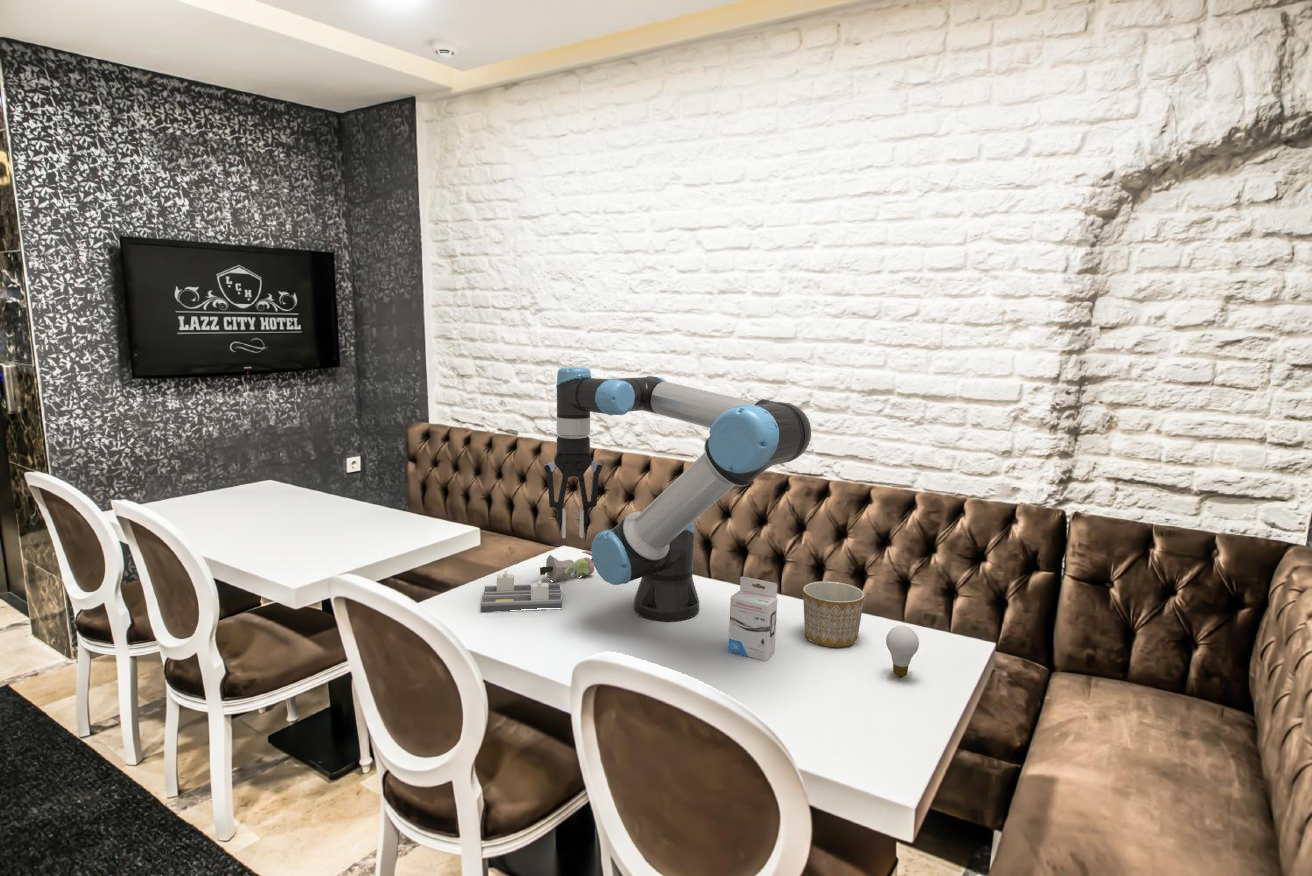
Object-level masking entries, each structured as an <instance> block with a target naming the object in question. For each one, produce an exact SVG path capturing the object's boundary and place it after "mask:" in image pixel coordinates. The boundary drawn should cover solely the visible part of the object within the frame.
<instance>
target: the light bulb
mask: <svg viewBox="0 0 1312 876" xmlns="http://www.w3.org/2000/svg"><path fill="white" fill-rule="evenodd" d="M885 643H886V644H885V645H886V647H887V649H888V651H889V654H890V657H891V660H892V674H894V675H895V676H896V677H897V678H900V679H902V678H905V676H907V675H908V672H909V665H910V663H911V660H912V658H913V657H914V655H915V654H916V653H917V652H918V650H919V647H920V640H919V637H918V635H917V633H916V632H915V630H914V629H912V628H911V627H909V626H906V625H897V626H894V627H893V628H891V629H890V630H889V631H888V633H887V635H886V637H885Z"/></svg>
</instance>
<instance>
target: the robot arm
mask: <svg viewBox="0 0 1312 876" xmlns="http://www.w3.org/2000/svg"><path fill="white" fill-rule="evenodd" d="M556 375H557V376H556V385H555V387H556V434H557V437H556V454H555V455H556V456H555V457H554V460H553V461H551V462H549V463H546V462H545V464H543V470H544V471H545V473H546V474H545V475H546V477H547V478H546V479H547V490H548V502H549V503H548V505H549V507H550V508H553V509H556V519H557V520H556V521H557V523H558V524H561V538H562V539H566V538H567V534H566V533H567V531H566V530H567V529H566V528H567V525H566V524H567V509H566V507H564V503H565V502H564V501H565V498H566V492H567V487H568V481H569V478H571V477H576V478H578V485H579V490H580V497H581V503H582V507H579V532H578V533H579V534H578V535H579V538H580V539H583V538H584V534H585V533H584V528H585V527H584V524H585V523H586V524H587V523H589V517H590V516H589V514H590V513H589V510H590V509H591V508H594V507H596V506H597V504H598V503H597V502H598V492H599V482H600V474H601V471H602V470H603V465H602V463H600V462H595V461H593V460H592V457H591V438H590V437H589V435H590V434H591V413H596V414H604V415H608V416H624V415H626V414H627V413H630V412H637V411H641V412H643V411H644V412H649V413H652V414H656V415H659V416H660V415H661V416H664V417H668V418H671V419H675V420H679V421H682V422H685V423H690V424H693V425H697V426H699V427H704V428H708V429H709V432H708V433H709V434H710V435H709V437H707V439H705V441H704V452H703V453H702V454H701V455H700V456H699V457H698V458H697V459H696V460H695V461H694V462H693V463H692V464H691V465H690V466H688V468H686V470H685V471H684V472H682V473H681V474H680V475H679V476H678V477H677V478H676V479H675V480H674V481H673V482H671V483H670V484H669V486H668V487H666V488H665V489H664V490H663V491H662V492H661V493H660V494H659V495H658V496H657V497H656V498H655V499H654V500H653V501H652V502H650V503H649V505H647V507H645V509H643V510H642V511H637V510H636V511H633V512H630V513H628V514H627V515H626V516H625V517H624V518H623V519H622V520H621V521H620V522H619V523H617V525H616V526H614V527H613V528H611V529H605V530H602V531H601V532H598V533H597V534H596V535H595V536H594V537H593V540H592V543H591V547H590V548H591V549H590V550H591V551H590V552H592V556H591V559H592V560H593V564H594V569H595V570H596V572H597V574H598V576H599V577H600V578H601V579H602V580H603V581H605V583H608V584H610V585H613V586H617V585H624V584H629V582H632V581H635V580H637V579H640V578H641V579H640V582H639V584H638V588H637V591H636V593H635V596H634V599H633V610H634V612H635V613H636V614H637V615H639V616H641V617H643V618H645V619H649V620H654V621H660V622H677V621H683V620H688V619H691V618H693V617H695V616H696V615H698V614H699V611H700V599H699V596H698V593H697V589H696V586H695V581H694V579H693V572H694V571H693V567H694V542H695V540H694V539H695V533H696V532H695V521H696V520H697V519H699V518H700V517H701V516H702V515H703V514H704V513H706V511H708V510H709V509H710V508H711V507H713V506H714V504H716V503H717V502H718V501H719V500H720V499H721V498H722V497H724V496H725V495H726V494H727V493H728V492H730V490H732V489H733V488H734V487H735V486H736V487H741V488H742V487H746V486H748V485H750V484H751V483H752V482H753V481H755V480H756V479H757V478H758V477H760V476H761V475H762V474H763V473H764V472H765V471H766V470H768V469H769V468H771V467H773V466H777V465H781V464H785V463H790V462H792V461H795V460H797V459H798V458H799V457H801V456H802V455H803V454H804V453H805V451H807V448H808V447H809V445H810V442H811V440H812V439H811V438H812V427H811V422H810V420H809V417H807V415H806V413H805V412H804V411H803V410H802V409H801V408H799V407H798V406H797V405H796V404H795V405H794V404H792V403H789V402H784V401H783V402H782V401H773V400H769V399H764V398H761V399H758V400H756V401H751V400H747V399H742V398H739V397H733V396H730V395H725V394H721V393H717V392H712V391H708V390H705V389H698V388H694V387H690V386H687V385H686V386H685V385H682V384H677V383H673V382H669V381H667V380H665V378H663V377H659V376H652V375H651V376H649V375H648V376H644V377H642V376H640V377H623V378H621V377H620V378H619V377H618V378H598V377H596V378H595V377H592V375H591V370H590V368H587V367H583V366H582V367H577V366H576V367H573V366H572V367H570V366H568V367H567V366H565V367H560V368H559V369H558V371H557V374H556ZM555 467H557V469H558V470H559V471H560V473H561V474H562V475H561V481H560V488H559V492H558V497H557V501H555V489H554V488H555V487H554V475H553V473H554V472H555ZM589 467H591V472H592V482H591V493H590V500H588V493H587V489H586V482H585V476H584V475H585V474H586V471H587V470H588V469H589Z"/></svg>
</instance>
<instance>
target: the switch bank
mask: <svg viewBox="0 0 1312 876" xmlns="http://www.w3.org/2000/svg"><path fill="white" fill-rule="evenodd" d="M548 585H549V600H533V601H531V583H529V584H514V591H506V592H497V585H484V591H483V593H482V594H483V595H482V602H481V613H494V612H493V611H508V612H511V611H510V610H521V609H537V608H562V609H563V600H562V591H561V590H562V589H561V583H560V582H559V583H548Z"/></svg>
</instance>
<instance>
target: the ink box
mask: <svg viewBox="0 0 1312 876" xmlns="http://www.w3.org/2000/svg"><path fill="white" fill-rule="evenodd" d="M758 584H759V586H761V587H764V588H760V587H756V586H753V585H758ZM739 589H740V590H738V591H737V592H735V593H734V594H733V595H731V596H730V604H729V605H730V608H729V623H728V624H729V626H728V647H727V650H728V652H730V653H734V654H737V655H741V656H745V657H749V658H753V659H757V660H760V661H764V662H766V661H768V660H769V659H770V658H771V657H772V655H773V654H774V653H775V649H776V634H777V633H776V632H777V613H778V612H777V611H778V598H777V595H778V584H777V583H776V582H772V581H767V580H762V579H757V578H753V577H747V576H744V575H743V576H740V577H739Z"/></svg>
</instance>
